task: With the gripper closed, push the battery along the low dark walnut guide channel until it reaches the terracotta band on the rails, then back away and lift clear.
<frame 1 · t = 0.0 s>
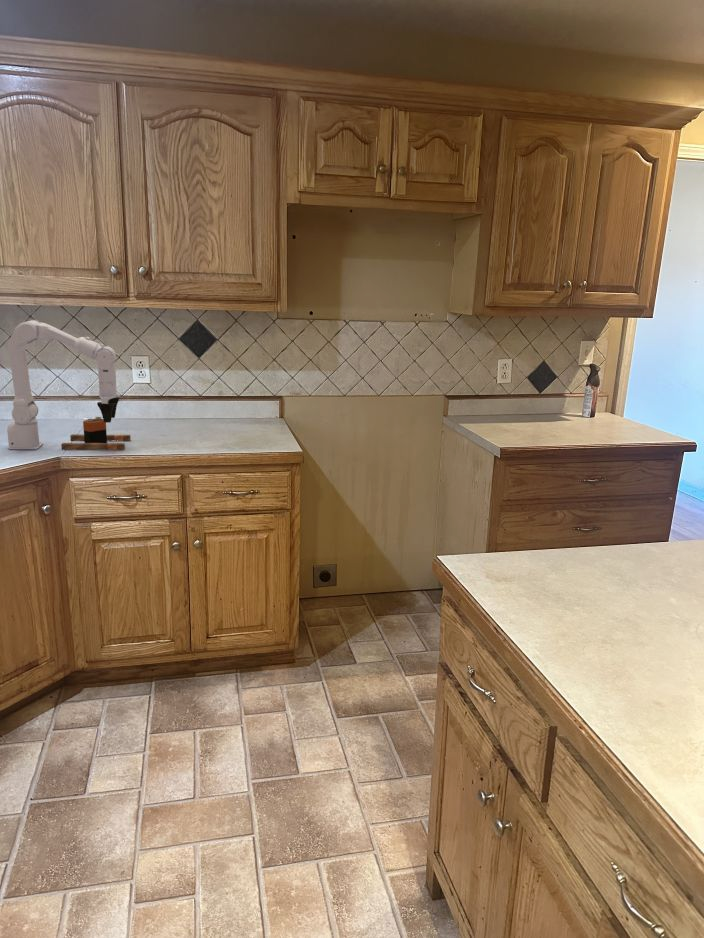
hand: (109, 420, 241), 10 cm above the counter, tool pointing down, fingers open, 7 cm apart
guide channel: (97, 444, 247), on the counter
battery: (96, 445, 247), on the counter
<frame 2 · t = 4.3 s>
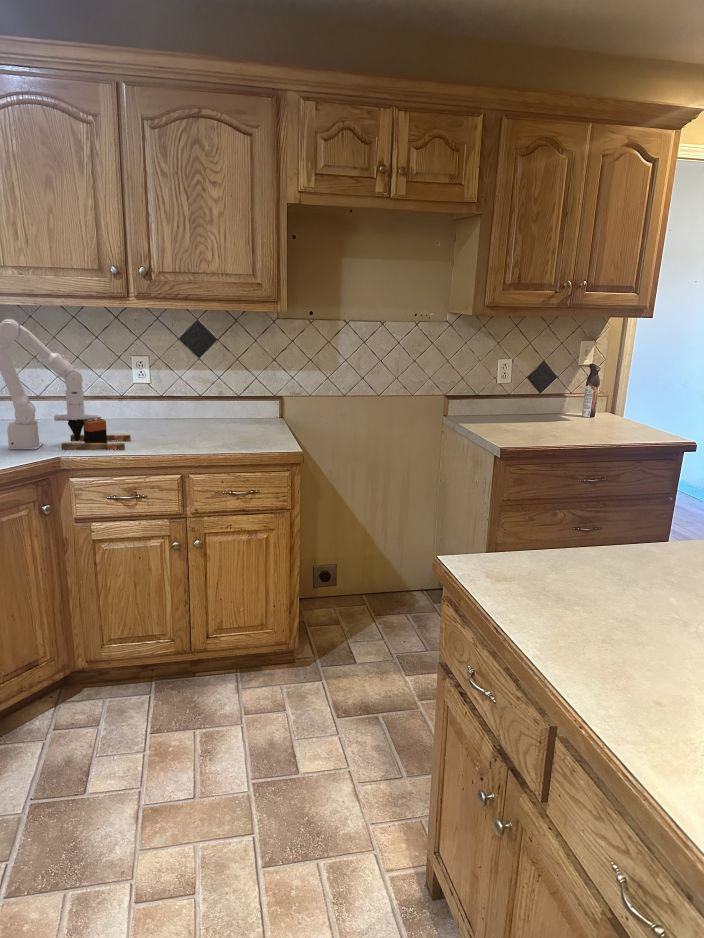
hand: (77, 440, 245), 2 cm above the counter, tool pointing down, fingers closed
battery: (96, 445, 247), on the counter, touching gripper
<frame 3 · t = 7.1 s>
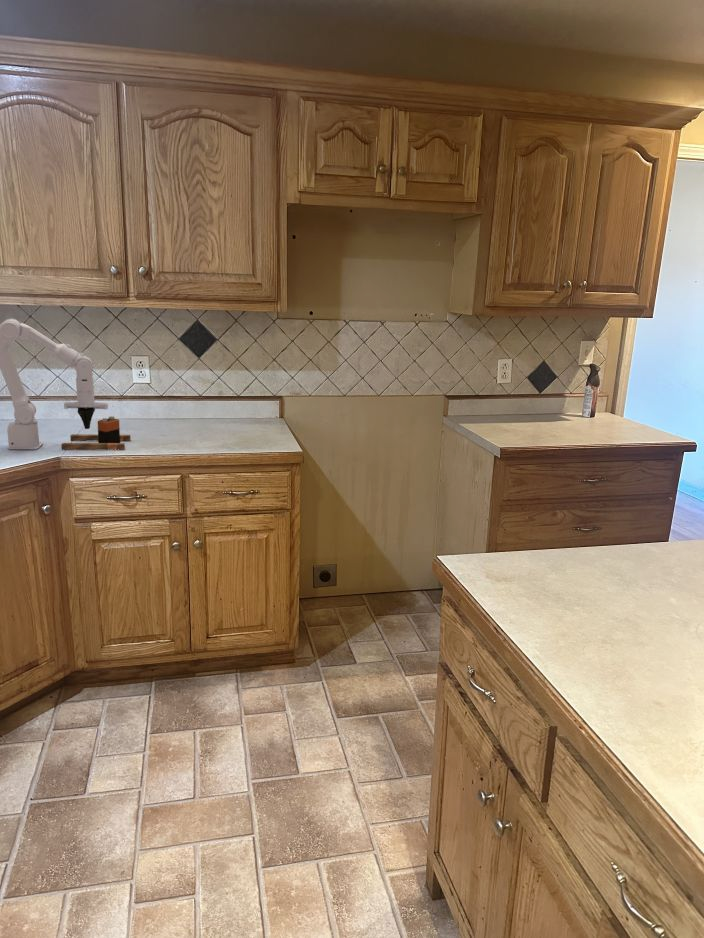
hand: (87, 428, 245), 6 cm above the counter, tool pointing down, fingers closed
battery: (109, 444, 248), on the counter
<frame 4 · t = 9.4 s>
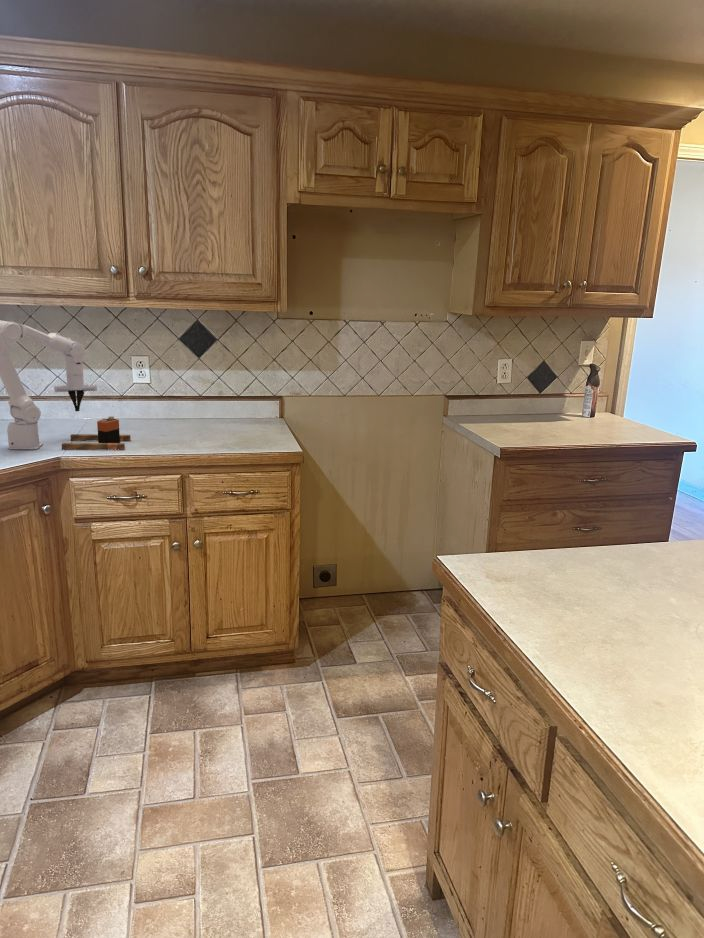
hand: (77, 410, 252), 10 cm above the counter, tool pointing down, fingers closed
nothing on the counter moved.
at the end: battery 0.9 cm from the target spot, on the counter; battery tilted 0°; battery moved 4.6 cm from its start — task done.
